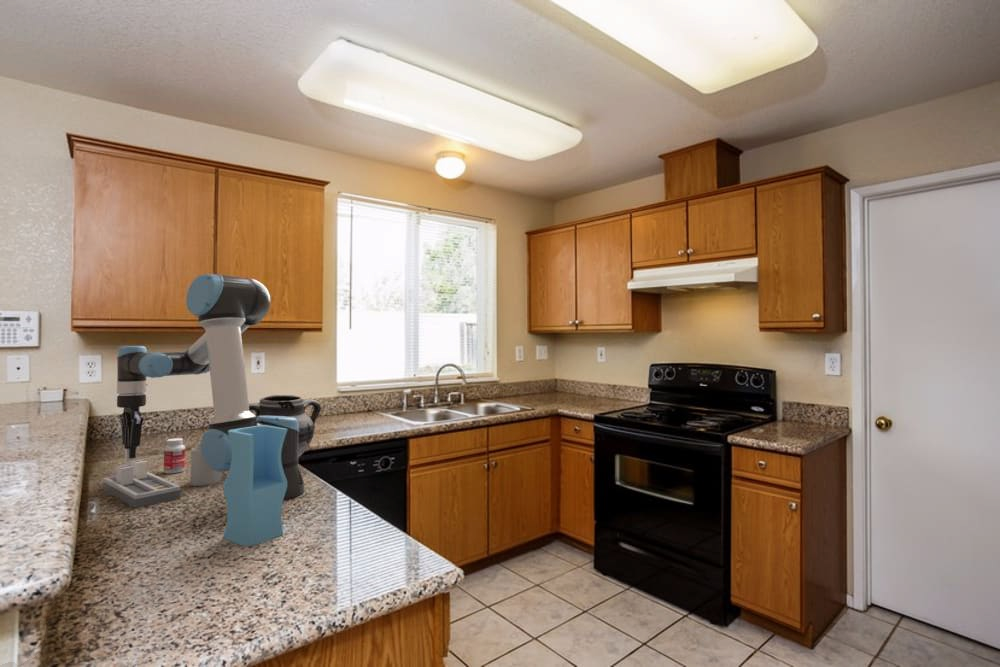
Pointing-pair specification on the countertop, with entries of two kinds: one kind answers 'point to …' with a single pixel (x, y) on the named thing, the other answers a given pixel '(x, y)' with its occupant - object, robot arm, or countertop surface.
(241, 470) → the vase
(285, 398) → the ceramic pot
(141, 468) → the fader
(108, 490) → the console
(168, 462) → the pill bottle
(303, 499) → the countertop surface
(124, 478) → the fader
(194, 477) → the mug
